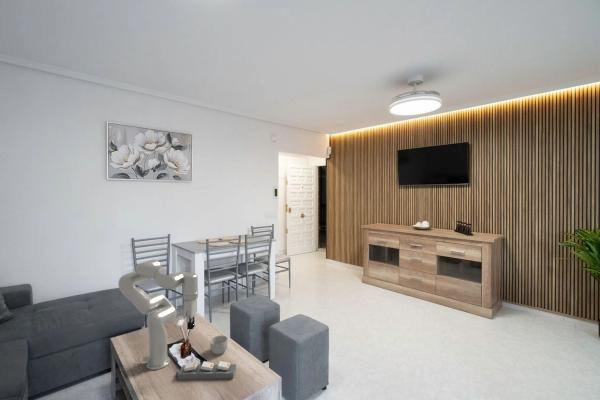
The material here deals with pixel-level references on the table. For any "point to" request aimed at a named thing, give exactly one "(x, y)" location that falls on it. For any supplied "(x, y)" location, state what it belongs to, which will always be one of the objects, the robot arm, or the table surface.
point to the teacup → (218, 344)
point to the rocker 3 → (223, 365)
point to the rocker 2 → (207, 366)
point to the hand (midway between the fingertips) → (191, 327)
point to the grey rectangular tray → (207, 373)
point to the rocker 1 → (190, 366)
